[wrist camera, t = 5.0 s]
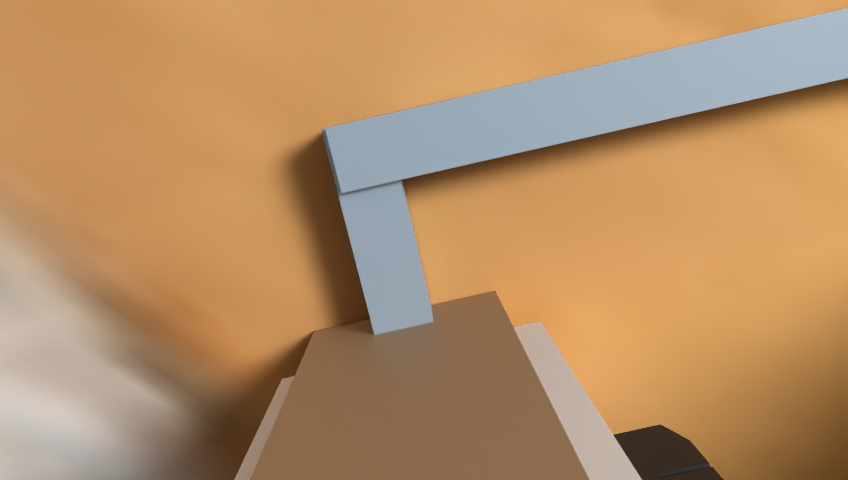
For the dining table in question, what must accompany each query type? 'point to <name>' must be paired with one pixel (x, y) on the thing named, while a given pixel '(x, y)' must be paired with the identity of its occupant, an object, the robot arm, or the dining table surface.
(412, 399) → the frame
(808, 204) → the dining table surface
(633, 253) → the dining table surface
